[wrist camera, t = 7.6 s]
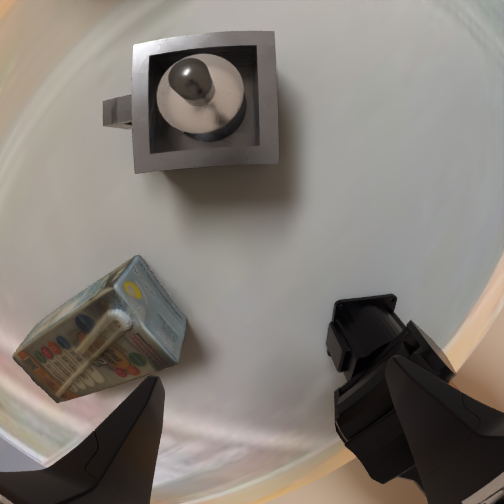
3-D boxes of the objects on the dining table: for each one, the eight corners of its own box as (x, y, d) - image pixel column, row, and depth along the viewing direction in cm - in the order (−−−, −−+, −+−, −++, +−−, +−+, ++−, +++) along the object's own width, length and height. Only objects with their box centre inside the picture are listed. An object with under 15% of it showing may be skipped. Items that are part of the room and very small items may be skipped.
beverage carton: (193, 321, 24) (182, 374, 18) (76, 372, 26) (56, 409, 20) (140, 249, 21) (108, 288, 15) (34, 324, 24) (6, 357, 17)
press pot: (265, 57, 16) (274, 31, 11) (268, 160, 19) (279, 164, 14) (130, 71, 15) (102, 54, 11) (132, 170, 18) (103, 178, 14)
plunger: (245, 73, 16) (251, 20, 8) (247, 140, 18) (255, 131, 10) (174, 79, 16) (131, 35, 8) (175, 145, 17) (129, 143, 9)
